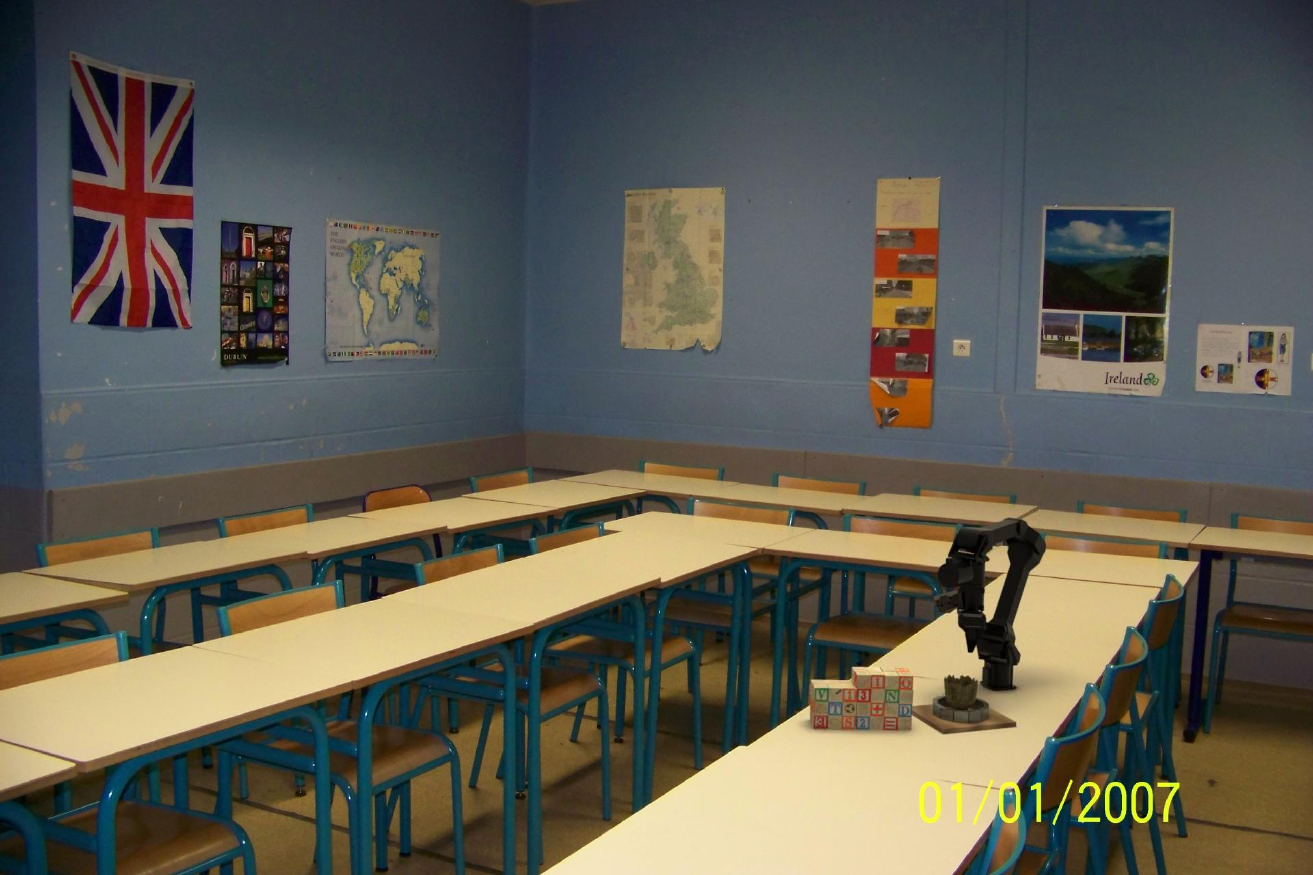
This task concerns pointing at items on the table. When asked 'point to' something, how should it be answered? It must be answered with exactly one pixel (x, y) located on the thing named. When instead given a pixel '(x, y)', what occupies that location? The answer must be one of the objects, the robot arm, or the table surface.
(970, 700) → the cup
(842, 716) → the stack of blocks
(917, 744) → the table surface
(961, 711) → the gray stone ring
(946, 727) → the base plate
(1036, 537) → the robot arm
